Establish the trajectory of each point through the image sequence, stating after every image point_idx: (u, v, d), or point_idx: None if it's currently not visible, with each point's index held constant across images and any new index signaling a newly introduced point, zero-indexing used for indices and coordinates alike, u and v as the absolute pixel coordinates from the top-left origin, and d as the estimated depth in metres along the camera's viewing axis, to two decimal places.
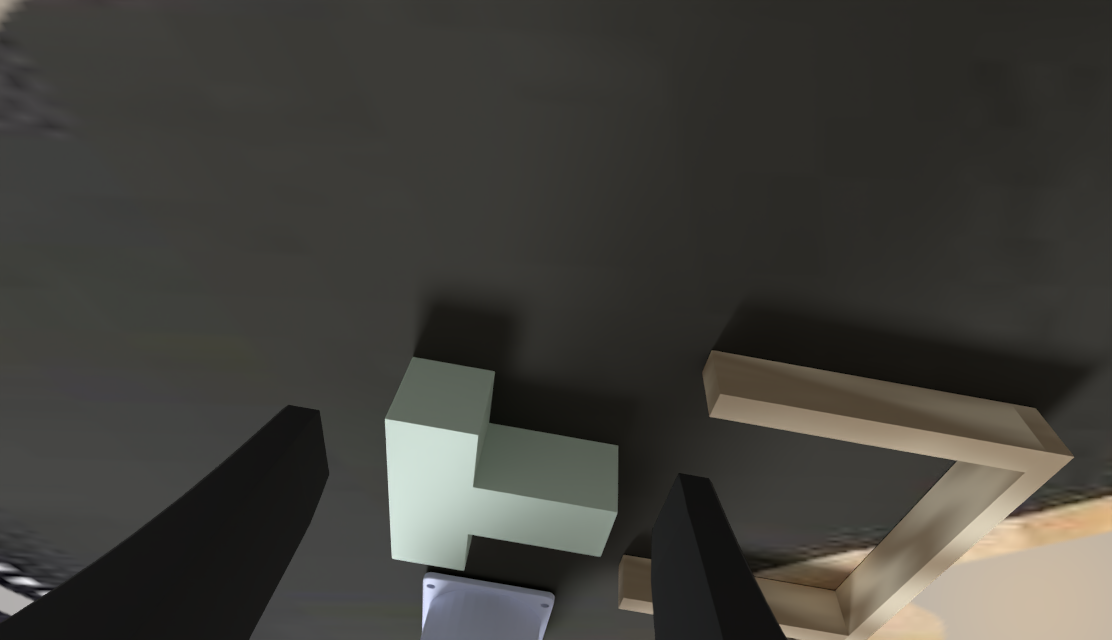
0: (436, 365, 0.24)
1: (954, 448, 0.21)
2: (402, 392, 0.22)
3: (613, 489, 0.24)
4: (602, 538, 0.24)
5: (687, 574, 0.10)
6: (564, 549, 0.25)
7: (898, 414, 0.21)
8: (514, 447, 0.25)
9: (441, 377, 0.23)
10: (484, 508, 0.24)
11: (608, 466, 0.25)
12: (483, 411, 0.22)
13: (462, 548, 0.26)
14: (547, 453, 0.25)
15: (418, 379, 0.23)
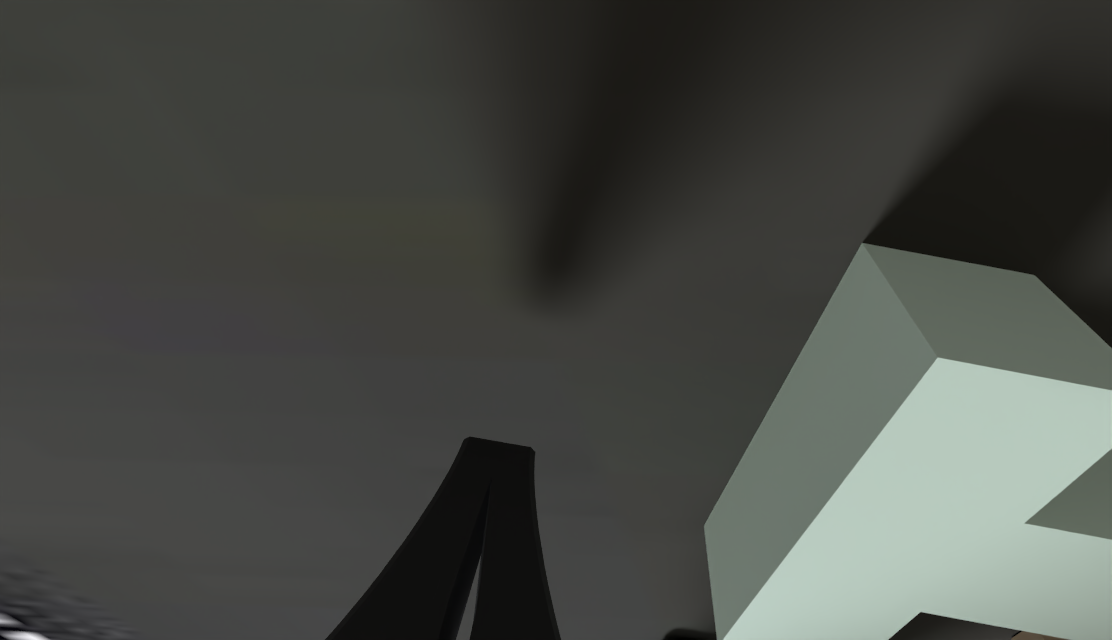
0: (919, 258, 0.11)
1: None
2: (912, 304, 0.10)
3: None
4: None
5: (484, 540, 0.10)
6: None
7: None
8: None
9: (953, 280, 0.10)
10: (1007, 566, 0.11)
11: None
12: (1110, 349, 0.09)
13: (883, 635, 0.13)
14: None
15: (916, 281, 0.10)
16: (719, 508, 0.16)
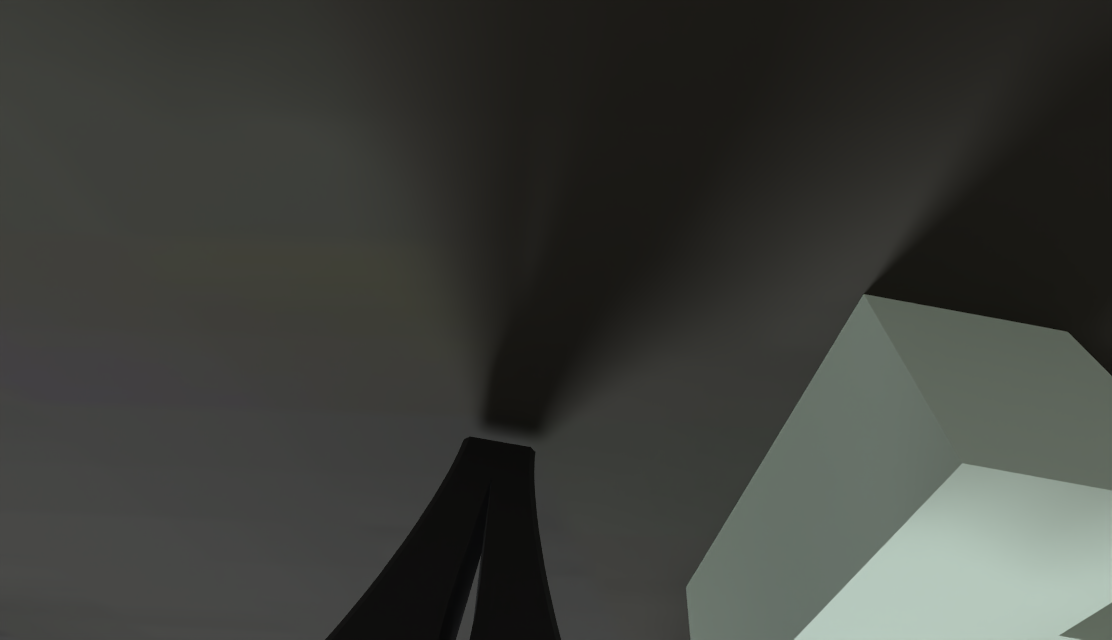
0: (933, 313, 0.09)
1: None
2: (927, 381, 0.08)
3: None
4: None
5: (484, 539, 0.10)
6: None
7: None
8: None
9: (974, 343, 0.09)
10: None
11: None
12: None
13: None
14: None
15: (930, 347, 0.08)
16: (702, 573, 0.14)
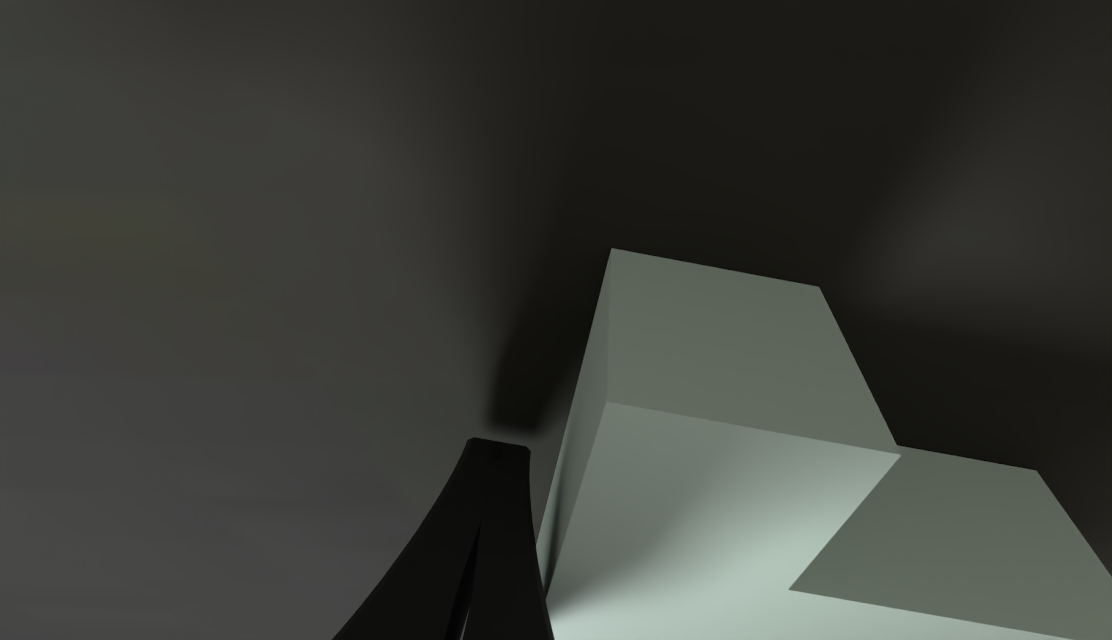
0: (677, 267, 0.09)
1: None
2: (623, 328, 0.08)
3: (1108, 585, 0.10)
4: None
5: (478, 539, 0.10)
6: None
7: None
8: None
9: (704, 295, 0.09)
10: (787, 634, 0.09)
11: (1053, 523, 0.10)
12: (863, 383, 0.08)
13: None
14: (907, 491, 0.10)
15: (650, 297, 0.08)
16: (537, 545, 0.14)
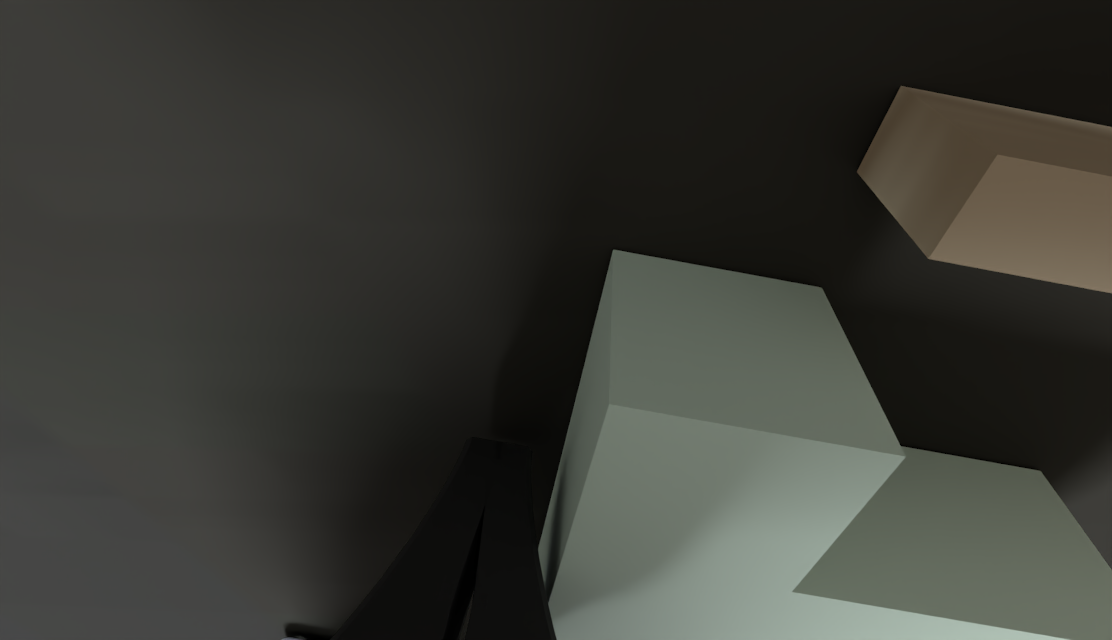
0: (679, 269, 0.09)
1: None
2: (626, 330, 0.08)
3: None
4: None
5: (480, 538, 0.10)
6: None
7: None
8: None
9: (706, 296, 0.09)
10: (791, 636, 0.09)
11: (1058, 523, 0.10)
12: (867, 384, 0.07)
13: None
14: (911, 492, 0.10)
15: (652, 299, 0.08)
16: (539, 547, 0.14)
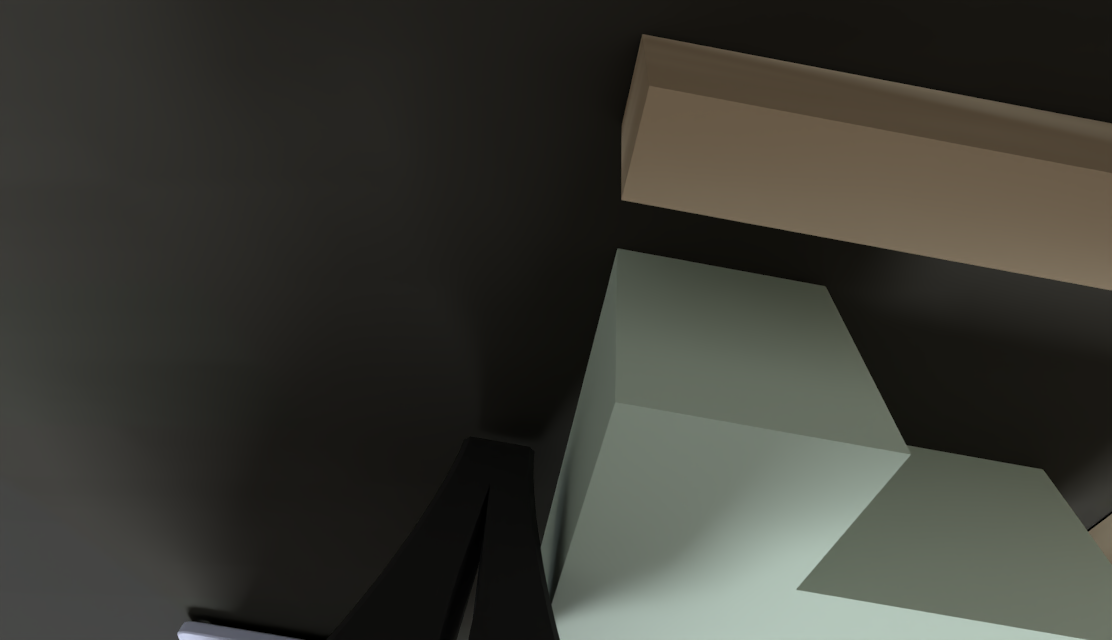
0: (683, 268, 0.09)
1: None
2: (631, 328, 0.08)
3: None
4: None
5: (483, 540, 0.10)
6: None
7: None
8: None
9: (710, 295, 0.09)
10: (795, 634, 0.09)
11: (1060, 522, 0.10)
12: (871, 383, 0.08)
13: None
14: (914, 490, 0.10)
15: (656, 298, 0.08)
16: (542, 546, 0.14)
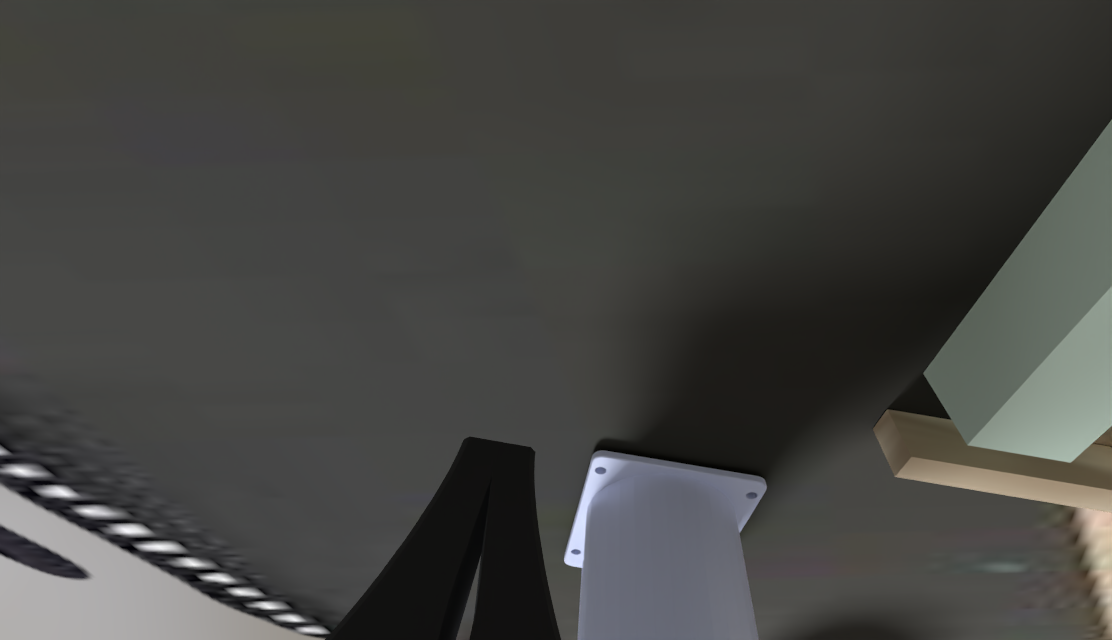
0: None
1: None
2: None
3: None
4: None
5: (484, 539, 0.10)
6: None
7: None
8: None
9: None
10: None
11: None
12: None
13: (1109, 421, 0.17)
14: None
15: None
16: (946, 352, 0.20)
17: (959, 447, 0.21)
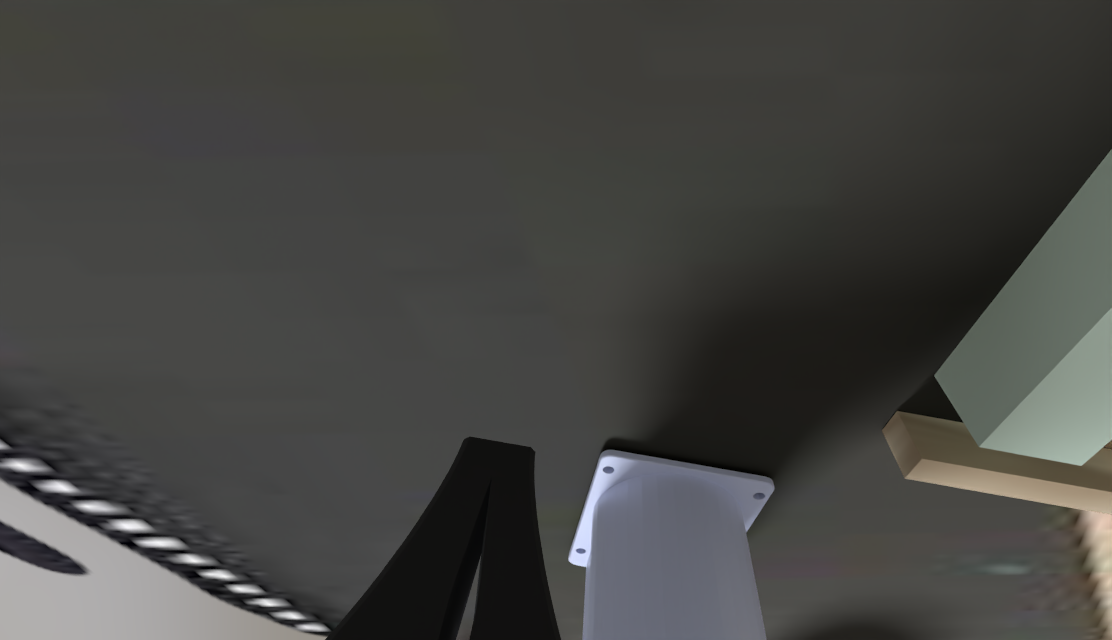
0: None
1: None
2: None
3: None
4: None
5: (484, 540, 0.10)
6: None
7: None
8: None
9: None
10: None
11: None
12: None
13: None
14: None
15: None
16: (957, 354, 0.20)
17: (969, 449, 0.22)
